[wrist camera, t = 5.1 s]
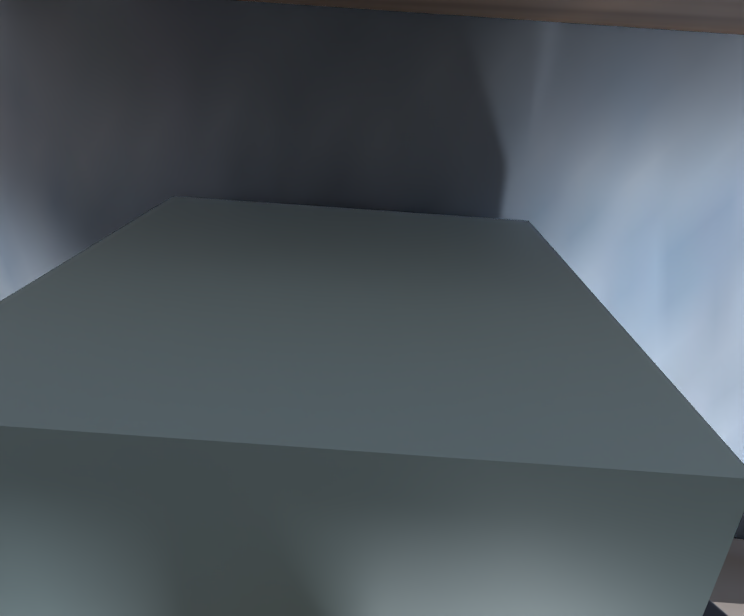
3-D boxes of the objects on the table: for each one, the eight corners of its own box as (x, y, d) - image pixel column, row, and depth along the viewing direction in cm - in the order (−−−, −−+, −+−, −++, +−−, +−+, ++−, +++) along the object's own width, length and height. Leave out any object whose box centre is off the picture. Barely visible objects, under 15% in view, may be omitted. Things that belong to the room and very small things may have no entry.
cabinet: (465, 586, 11) (576, 1351, 4) (199, 566, 11) (-79, 1300, 4) (528, 220, 8) (1058, 821, 2) (174, 196, 8) (-657, 698, 2)
